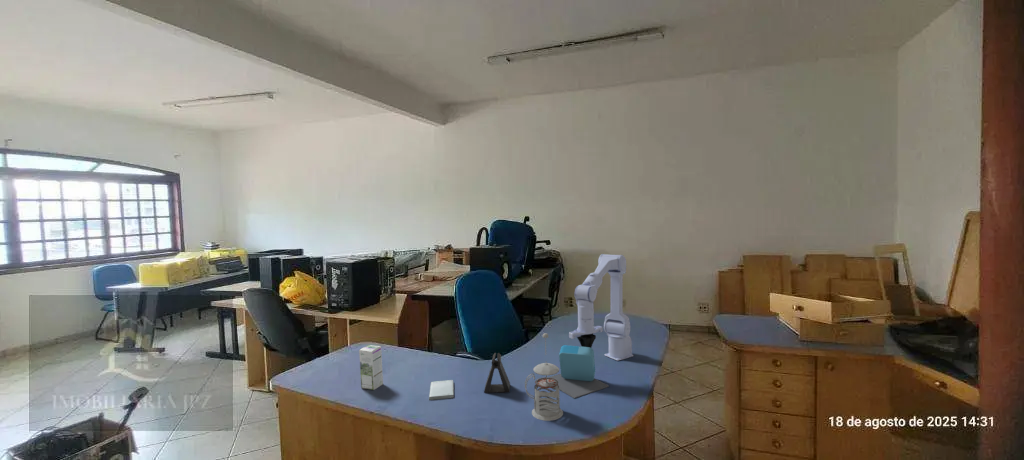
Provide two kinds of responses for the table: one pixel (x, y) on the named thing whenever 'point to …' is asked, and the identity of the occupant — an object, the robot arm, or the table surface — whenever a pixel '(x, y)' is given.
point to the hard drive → (441, 390)
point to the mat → (578, 386)
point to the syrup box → (371, 367)
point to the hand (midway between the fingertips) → (586, 354)
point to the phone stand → (505, 381)
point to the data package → (577, 363)
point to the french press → (544, 405)
